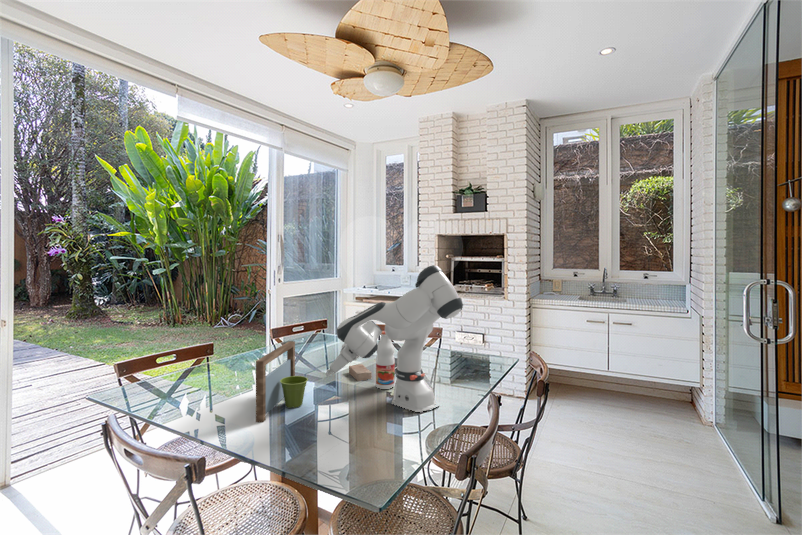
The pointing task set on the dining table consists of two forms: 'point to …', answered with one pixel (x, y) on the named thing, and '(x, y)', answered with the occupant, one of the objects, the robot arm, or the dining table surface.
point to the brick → (360, 372)
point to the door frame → (262, 376)
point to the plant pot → (293, 390)
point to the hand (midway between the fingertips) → (329, 371)
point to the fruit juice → (385, 363)
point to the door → (276, 384)
